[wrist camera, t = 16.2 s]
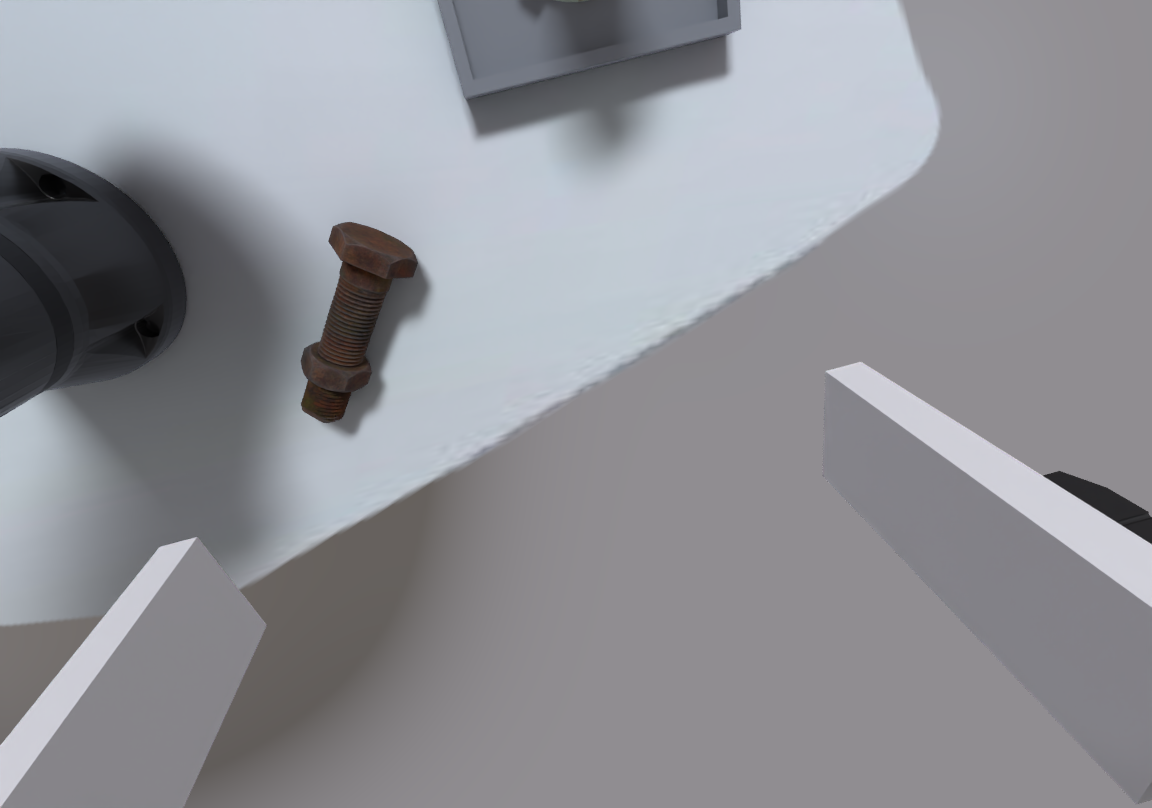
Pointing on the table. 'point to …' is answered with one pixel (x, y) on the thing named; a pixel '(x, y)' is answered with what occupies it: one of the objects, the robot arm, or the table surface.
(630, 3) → the carrier tray
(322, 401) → the bolt
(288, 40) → the table surface
